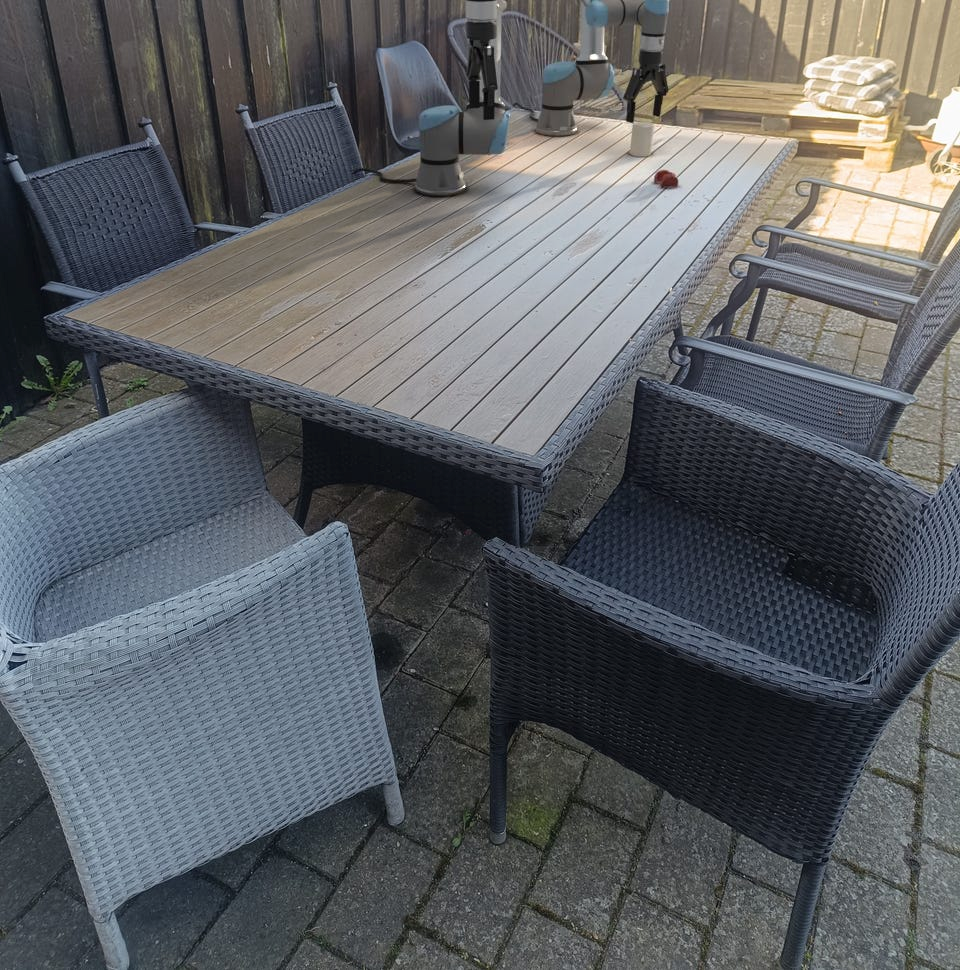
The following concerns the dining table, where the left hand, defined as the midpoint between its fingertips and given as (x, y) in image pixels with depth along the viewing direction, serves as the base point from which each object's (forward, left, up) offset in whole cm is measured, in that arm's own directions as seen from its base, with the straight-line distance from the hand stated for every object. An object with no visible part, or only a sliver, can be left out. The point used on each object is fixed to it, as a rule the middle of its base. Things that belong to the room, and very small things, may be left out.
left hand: (481, 113), depth 217 cm
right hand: (-3, +92, -17) cm, 93 cm away
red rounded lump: (+22, +64, -28) cm, 74 cm away
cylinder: (-2, +91, -28) cm, 96 cm away
